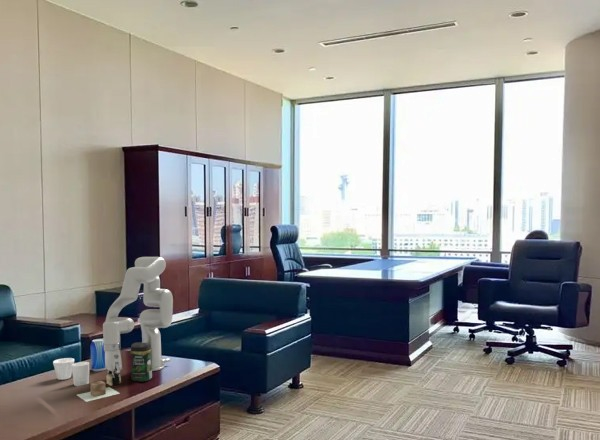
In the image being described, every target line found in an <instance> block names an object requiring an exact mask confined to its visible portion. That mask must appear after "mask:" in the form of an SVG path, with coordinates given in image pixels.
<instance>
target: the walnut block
mask: <svg viewBox="0 0 600 440" xmlns="http://www.w3.org/2000/svg"><path fill="white" fill-rule="evenodd" d="M89 385H90V387H89V389H90V392H91V395H93V396H94V397H96V396H100V395H104V394H106V388H107V387H106V382H105V381H102V380H98V381H93V382H89Z"/></svg>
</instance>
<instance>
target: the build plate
mask: <svg viewBox="0 0 600 440" xmlns="http://www.w3.org/2000/svg"><path fill="white" fill-rule="evenodd" d="M120 394H121V393H120V392H119V391H117V390H115V389H113V388H111V387H109V386H108V387H106V394H104V395H100V396H96V397H94V396H93V395H91V391H87V392H84V393H83V392H82V393H79V394H78V393H77V394H76V396H77V397H78V398H80V399H81V400H83V401H84V402H85V403H86V402H91V401H95V400H96V401H97V400H99V399H103V398H107V397H111V396H115V395H120Z"/></svg>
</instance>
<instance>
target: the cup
mask: <svg viewBox="0 0 600 440" xmlns="http://www.w3.org/2000/svg"><path fill="white" fill-rule="evenodd" d="M74 363H75V358H72V357H64V358H58V359H55V360H53V361H52V364H53V367H54V371H55V375H56V379H57V381H66V380H69V379H71V378H72V374H73V372H72V364H74Z"/></svg>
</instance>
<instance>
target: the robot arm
mask: <svg viewBox="0 0 600 440" xmlns="http://www.w3.org/2000/svg"><path fill="white" fill-rule="evenodd" d="M166 266H167V263H166V260H165V259H164V257H161V256H141V257H138V258H135V261H134V266H133V267H129V268H128V269H126V272H125V276H124V279H123V283H122V288H121V291H120V295H119V296H118V297H117V298H116V299H115V300H114V302H113V303H112V304H111V305H110V306H109V309H108V311H107V314H106V317H105V320H104V322H103V323H102V334H103V335H102V336H103V337H102V339H103V340H104V351H105V367H106V371H107V374H106V375H108V374H113V378H112V384H113V385H112V386H117V385H120V384H121V383H119V374H120V373H121V370H123V363H122V354H121V335H122V334H128V333H130V332H132V331H134V330H133V329H134V328H135V321H134V320H133V319H132V318H130V317H121V316H120V317H119V314H120V312H121V311H122V309H123V308H125V307H127V305H130V304H132V303H133V302H135V301H137V299H138V298H139V297H138V296H139V294H140V293H139V292H140V289H141V285H142V284H143V304H144V305H145V306H146V307H151V309H149V308H148V309H144V310H142V311H141V313H140V314H139V324H140V330H141V338H142V339H141V340H142V341H141V342H142V343H150V344H151V353H150V361H151V370H152V372H156V371H159V370H163V369H165V363H170V362H171V359H170V357H169V358H162V341H161V339H162V338H161V336H162V335H161V332H160V330H159V329H161V328H162V329H165V328H168V327H170V326H171V325H172V322H173V313H174V312H173V309H174V297H173V293H172V291H171V290H169V289H166V288H161V279H160V275H161V274H162V273H163V272H164V271H165V269H166ZM152 307H153V309H152ZM154 308H159V309H154ZM114 373H115V374H114ZM120 375H121V374H120Z"/></svg>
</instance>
